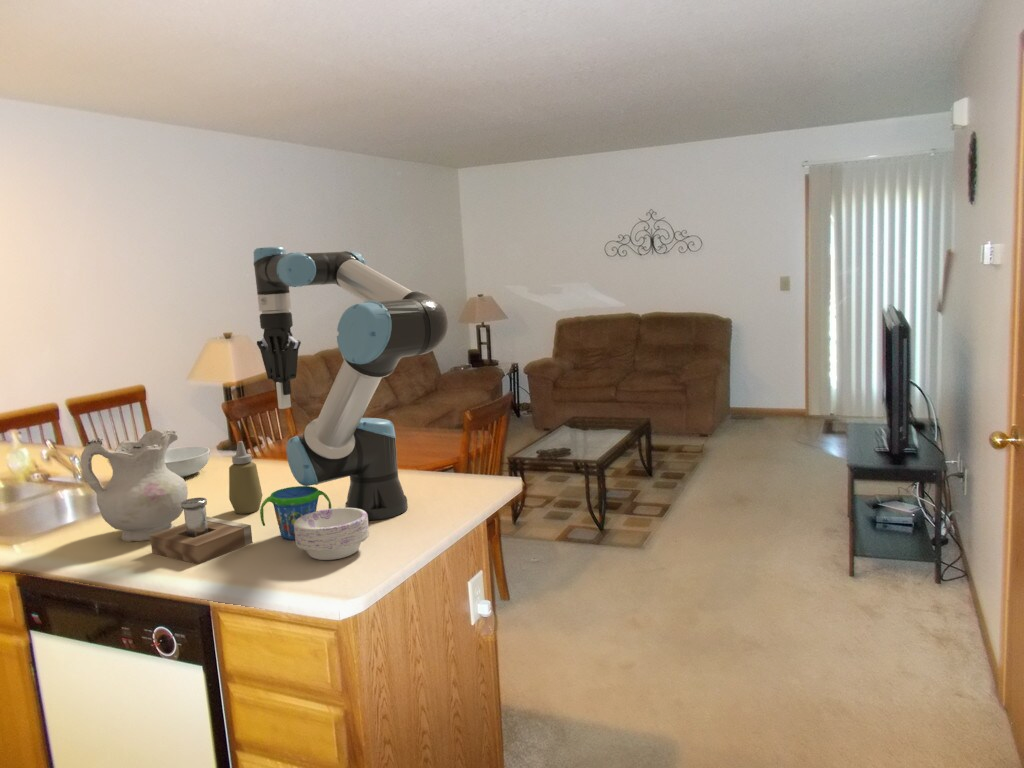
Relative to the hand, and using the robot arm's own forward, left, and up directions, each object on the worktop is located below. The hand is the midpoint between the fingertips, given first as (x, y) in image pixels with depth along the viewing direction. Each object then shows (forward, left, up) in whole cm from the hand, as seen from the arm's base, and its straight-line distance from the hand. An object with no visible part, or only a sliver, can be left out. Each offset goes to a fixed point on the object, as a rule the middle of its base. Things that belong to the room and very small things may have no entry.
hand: (284, 407), depth 195 cm
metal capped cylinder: (-1, +29, -26) cm, 39 cm away
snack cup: (-15, +13, -27) cm, 33 cm away
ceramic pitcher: (+21, +28, -27) cm, 44 cm away
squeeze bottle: (+12, +5, -27) cm, 30 cm away
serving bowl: (+64, -11, -27) cm, 70 cm away
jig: (-1, +29, -26) cm, 39 cm away
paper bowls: (-31, +18, -27) cm, 45 cm away
